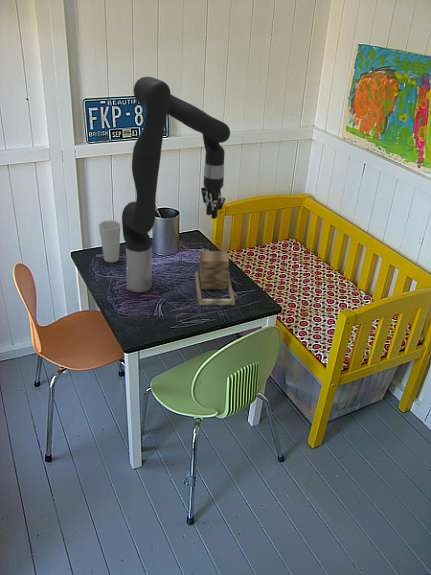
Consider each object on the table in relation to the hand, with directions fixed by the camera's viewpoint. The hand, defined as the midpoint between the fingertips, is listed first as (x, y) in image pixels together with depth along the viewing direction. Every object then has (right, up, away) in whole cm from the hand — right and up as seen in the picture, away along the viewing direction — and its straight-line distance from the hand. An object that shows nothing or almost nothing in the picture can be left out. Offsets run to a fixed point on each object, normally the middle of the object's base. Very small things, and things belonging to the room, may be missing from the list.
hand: (211, 216), depth 214 cm
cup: (-41, -17, +10) cm, 45 cm away
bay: (+1, -30, -8) cm, 31 cm away
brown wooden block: (+1, -26, -5) cm, 27 cm away
